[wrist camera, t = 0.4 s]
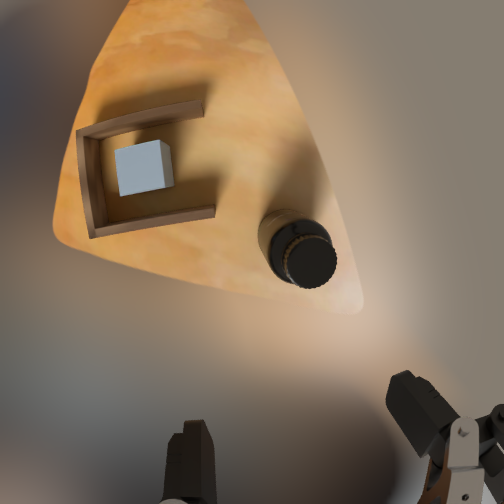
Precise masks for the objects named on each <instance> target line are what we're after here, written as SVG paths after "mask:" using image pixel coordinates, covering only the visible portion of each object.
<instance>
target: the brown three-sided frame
mask: <svg viewBox="0 0 504 504" xmlns="http://www.w3.org/2000/svg"><path fill="white" fill-rule="evenodd" d="M202 117H204V115H203V108H202V104H201V99H200V100H193V101H187V102H181V103H176V104H171V105H166V106H161V107H156V108H152V109H147V110H143V111H139V112H135V113H131V114H127V115H123V116H120V117H116V118H113V119H109V120H106V121H103V122H100V123H97V124H93V125H90V126H87V127H85V128H82V129H79V130H76V145H77V159H78V169H79V178H80V186H81V194H82V200H83V207H84V213H85V218H86V224H87V229H88V234H89V238H90V239H93V238H98V237H103V236H108V235H113V234H119V233H124V232H129V231H135V230H141V229H146V228H152V227H158V226H164V225H170V224H176V223H182V222H189V221H195V220H202V219H208V218H215V205H208V206H202V207H195V208H189V209H182V210H176V211H170V212H165V213H159V214H153V215H148V216H142V217H137V218H132V219H126V220H121V221H116V222H111V223H109V220H108V214H107V208H106V202H105V195H104V189H103V181H102V173H101V164H100V154H99V140H102V139H105V138H109V137H112V136H116V135H120V134H123V133H127V132H131V131H135V130H139V129H143V128H148V127H152V126H157V125H162V124H167V123H172V122H177V121H183V120H189V119H195V118H202Z"/></svg>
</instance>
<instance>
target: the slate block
mask: <svg viewBox="0 0 504 504" xmlns="http://www.w3.org/2000/svg"><path fill="white" fill-rule="evenodd" d="M115 160H116V169H117V177H118V185H119V192H120V196H125V195H130V194H135V193H140V192H145V191H151V190H156V189H161V188H167V187H172V186H175V185H174V177H173V169H172V161H171V152H170V146H169V145H167V144H166V143H164V142H163V141H161V140H160V139H159V140H154V141H150V142H145V143H141V144H136V145H132V146H128V147H124V148H120V149H116V150H115Z"/></svg>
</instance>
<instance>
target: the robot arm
mask: <svg viewBox="0 0 504 504" xmlns="http://www.w3.org/2000/svg"><path fill="white" fill-rule="evenodd" d="M386 406H387V408H388V410H389V412H390V413H391V415H392V416H393V418H394V419H395V421H396V422H397V424H398V425H399V427H400V428H401V430H402V431H403V433H404V434H405V436H406V437H407V439H408V440H409V442H410V443H411V445H412V446H413V448H414V449H415V451H416V452H417V454H418V456H419V457H420V458H422V457H424V456H425V455H427V454H429V455H430V459H429V464H428V469H427V474H426V479H425V484H424V488H423V492H422V495H421V497H420V499H419V501H418V502H417V504H481V501H482V492H483V484H484V482H485V484H486V485H487V487H488V489H489V490H490V492H491V494H492V495H493V497H494V499H495V501H496V502H497V504H504V454H503V453H502V451H501V450H500V449H499V447H498V446H497V442H498V443H499V444H500V446H501V447H502V448H503V450H504V404H499V405H497V406H495V407H494V409H493V410H492V412H491V413H490V414H489V415H487V416H484V417H481V418H478V419H475V420H474V419H472V418H470V417H460V416H459V415H458V414H457V413H456V412H455V410H454V409H453V408H452V407H451V406H450V405H449V404H448V402H447V401H446V400H445V399H444V398H443V397H442V396H440V393H439V392H438V391H437V390H435V388H434V387H433V386H432V385H431V383H430V382H429V381H427V380H425V379H423V378H421V377H420V376H419V377H415V376H414V375H413V374H412V373H411V372H410V371H409V370H406V371H403V372H400V373H398V374H396V375H393V376H392V377H391V380H390V384H389V387H388V391H387V395H386ZM214 452H215V451H214V444H213V440H212V438H211V435H210V433H209V431H208V429H207V426H206V424H205V422H204V420H189V421H185V422H184V428H183V433H174V435H173V436H172V438H171V439H170V441H169V443H168V449H167V459H166V463H167V464H166V469H165V480H164V493H163V497H162V500H161V501H160V503H159V504H217V491H216V474H215V453H214Z"/></svg>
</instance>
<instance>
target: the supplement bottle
mask: <svg viewBox="0 0 504 504" xmlns="http://www.w3.org/2000/svg"><path fill="white" fill-rule="evenodd" d="M258 243H259V246H260V249H261V251H262V253H263V255H264V257H265V259H266V260H267V262H268V264H269V266H270V268H271V270H272V271H273V273H274V274H275V275H276V276H277V277H278V278H280V279H281V280H283V281H285V282H287V283H290V284H295V285H297V286H299V287H300V288H305V289H307V288H308V289H311V288H316V287H320V286H321V285H324V284H325V283H326V282H328V281H329V279H330V278H331V277H332V275H333V274H334V271H335V269H336V265H337V257H336V252H335V249H334V248H333V245H332V240H331V237H330V235H329V233H328V232H327V230H326V229H325V228H324V227H323V226H322V225H321V224H319V223H318V222H316V221H314V220H312V219H310V218H308V217H306V216H304V215H302V214H300V213H298V212H296V211H293V210H288V209H282V210H277V211H275V212H272V213H271V214H269V215H268V216H267V217H266V218H265V219H264V220H263V221H262V223H261V225H260V227H259V230H258Z"/></svg>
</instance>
